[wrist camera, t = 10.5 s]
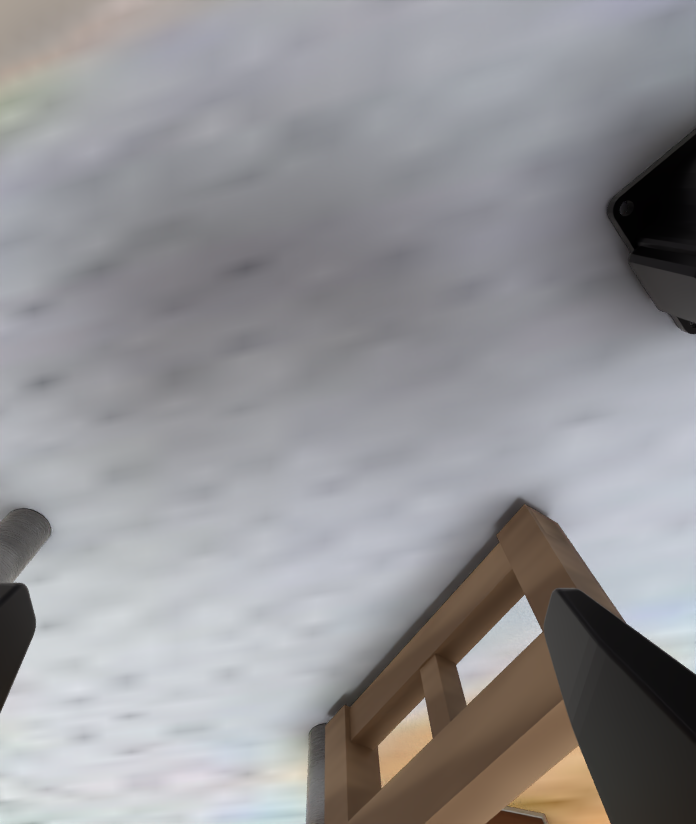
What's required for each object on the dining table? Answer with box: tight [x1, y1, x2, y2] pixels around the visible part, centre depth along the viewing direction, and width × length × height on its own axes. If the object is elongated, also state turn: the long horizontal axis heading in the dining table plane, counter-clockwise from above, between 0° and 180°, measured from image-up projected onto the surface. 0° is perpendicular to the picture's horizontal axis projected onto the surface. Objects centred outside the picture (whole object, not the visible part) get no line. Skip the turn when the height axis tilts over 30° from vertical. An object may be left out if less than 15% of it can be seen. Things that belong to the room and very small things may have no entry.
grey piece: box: [0, 509, 327, 824], centre depth 23 cm, size 2×22×8 cm, turn 42°
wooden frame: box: [324, 504, 626, 824], centre depth 22 cm, size 2×17×8 cm, turn 147°
